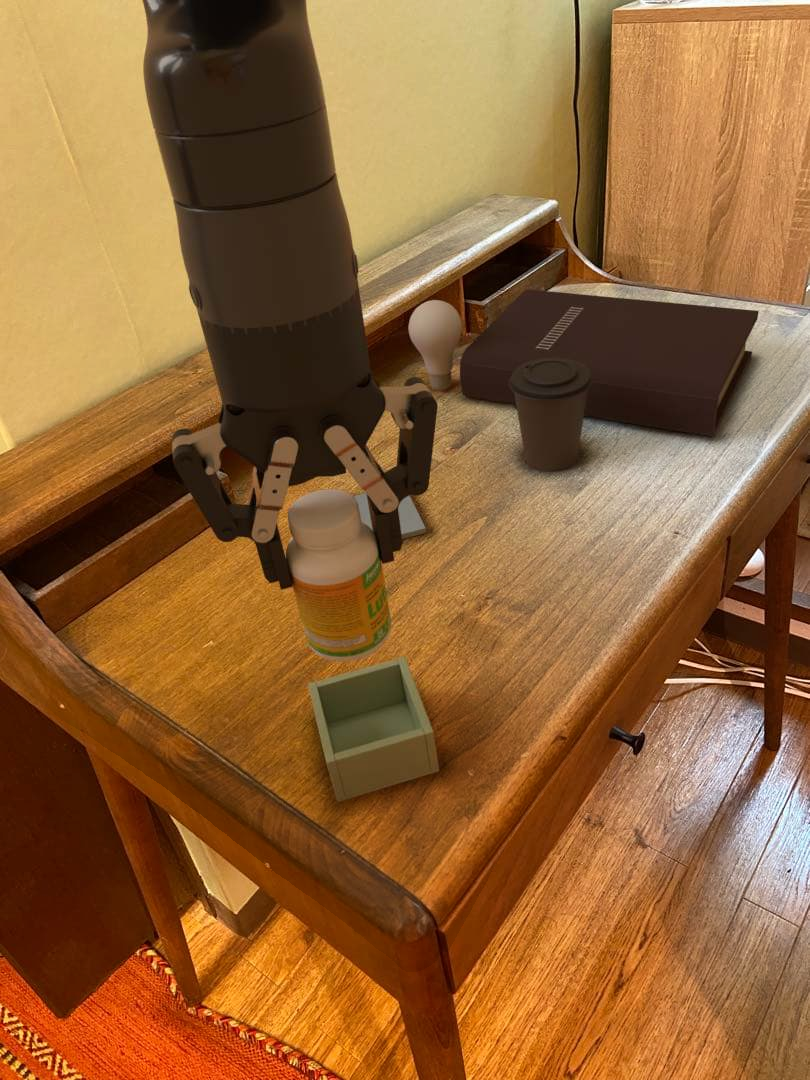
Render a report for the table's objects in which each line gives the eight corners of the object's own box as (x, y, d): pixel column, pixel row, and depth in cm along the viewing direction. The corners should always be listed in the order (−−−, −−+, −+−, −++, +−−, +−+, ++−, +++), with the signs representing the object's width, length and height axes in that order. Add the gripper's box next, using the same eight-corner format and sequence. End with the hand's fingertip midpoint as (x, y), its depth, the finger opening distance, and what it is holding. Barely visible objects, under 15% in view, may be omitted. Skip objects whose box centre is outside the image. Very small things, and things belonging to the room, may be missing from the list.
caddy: (337, 802, 55) (326, 763, 53) (318, 722, 61) (307, 683, 58) (439, 771, 56) (433, 731, 54) (411, 695, 62) (404, 655, 59)
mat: (333, 557, 76) (332, 552, 76) (318, 509, 82) (317, 505, 82) (426, 532, 77) (425, 527, 77) (404, 488, 83) (403, 483, 83)
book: (461, 403, 95) (457, 356, 92) (526, 332, 108) (525, 289, 104) (710, 444, 83) (717, 392, 79) (751, 359, 96) (758, 310, 92)
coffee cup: (504, 442, 88) (500, 356, 82) (579, 431, 88) (581, 344, 82) (520, 484, 81) (516, 395, 75) (601, 472, 81) (604, 381, 75)
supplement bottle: (390, 662, 49) (368, 534, 43) (302, 667, 50) (267, 542, 44) (393, 601, 53) (373, 477, 47) (312, 606, 54) (281, 485, 48)
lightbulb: (440, 373, 102) (432, 287, 95) (477, 386, 98) (471, 298, 91) (405, 393, 99) (394, 306, 92) (442, 407, 95) (433, 318, 88)
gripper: (405, 234, 42) (434, 504, 52) (120, 290, 40) (208, 559, 50) (449, 283, 36) (471, 576, 46) (117, 351, 34) (218, 641, 44)
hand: (334, 566), depth 48 cm, fingers closed on supplement bottle, 5 cm apart
